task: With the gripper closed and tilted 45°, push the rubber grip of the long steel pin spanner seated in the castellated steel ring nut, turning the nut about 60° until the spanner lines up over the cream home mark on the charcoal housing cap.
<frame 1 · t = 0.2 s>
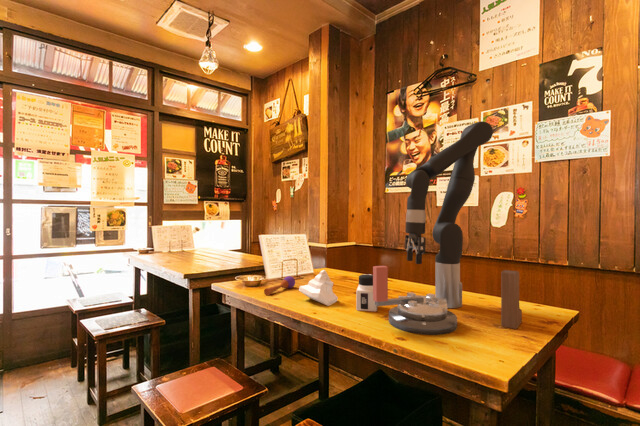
hand: (414, 262, 132), 18 cm above the table, tool pointing down, fingers open, 8 cm apart
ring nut: (409, 289, 111), point 12 cm above the table, hinge at 0.0°
container: (367, 308, 130), on the table
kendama: (280, 291, 159), on the table
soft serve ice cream: (320, 302, 140), on the table
wooden block: (511, 325, 111), on the table
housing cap: (421, 322, 112), on the table
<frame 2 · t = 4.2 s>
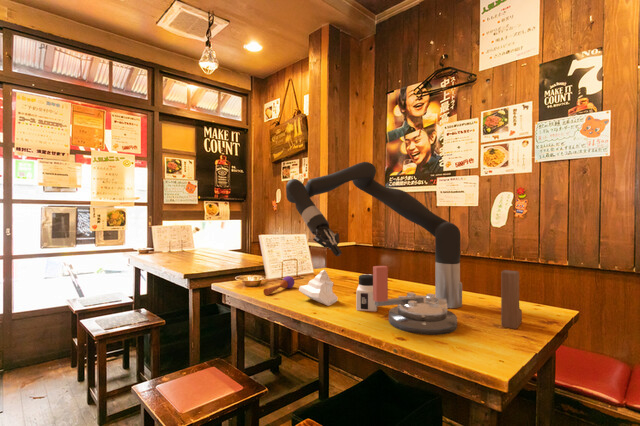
hand: (339, 254, 121), 22 cm above the table, tool tilted 45°, fingers closed
nothing on the table moved.
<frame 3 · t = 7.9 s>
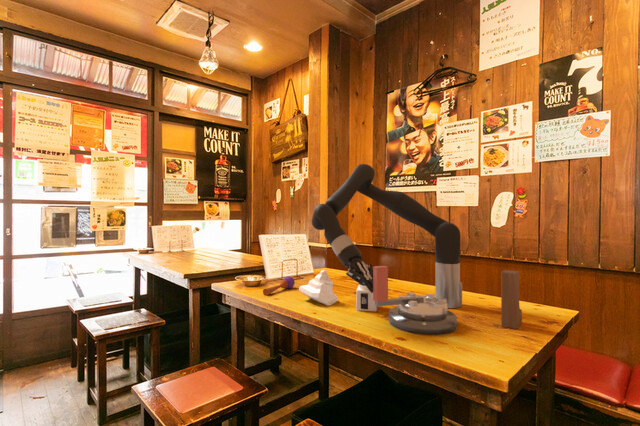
hand: (374, 291, 110), 12 cm above the table, tool tilted 45°, fingers closed
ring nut: (409, 289, 111), point 12 cm above the table, hinge at 0.5°, touching gripper
everything else where it was.
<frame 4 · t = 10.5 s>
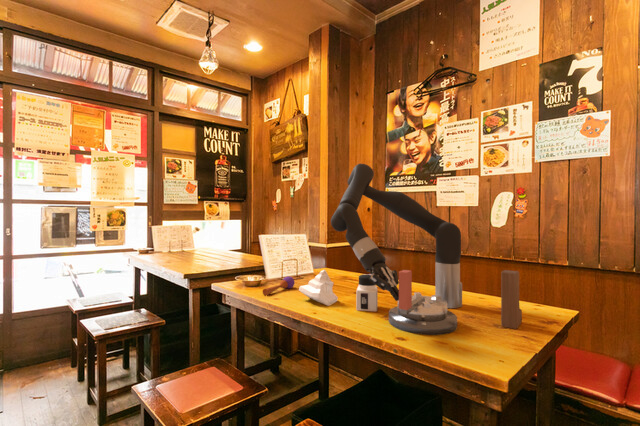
hand: (399, 299, 101), 11 cm above the table, tool tilted 45°, fingers closed
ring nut: (417, 291, 109), point 12 cm above the table, hinge at 38.5°, touching gripper
everything else where it was.
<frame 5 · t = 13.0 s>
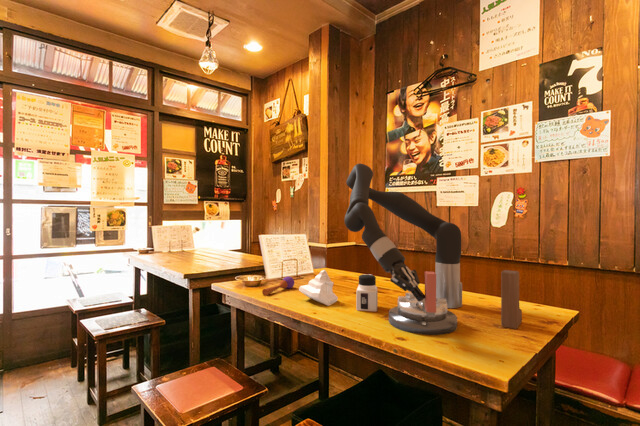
hand: (422, 299, 98), 12 cm above the table, tool tilted 45°, fingers closed
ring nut: (424, 292, 108), point 12 cm above the table, hinge at 65.1°, touching gripper
everything else where it was.
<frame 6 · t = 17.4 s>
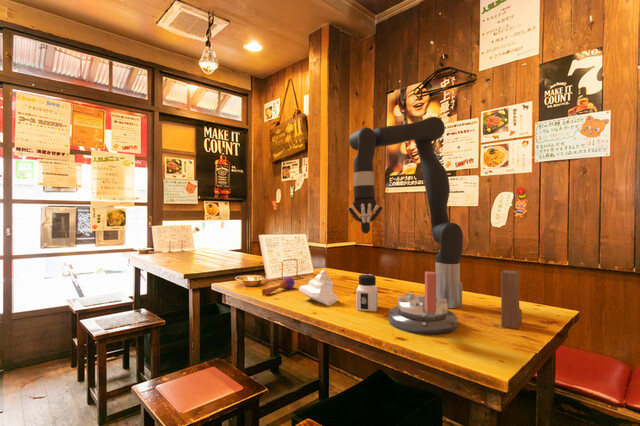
hand: (365, 233, 119), 30 cm above the table, tool pointing down, fingers closed
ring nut: (424, 292, 108), point 12 cm above the table, hinge at 65.2°
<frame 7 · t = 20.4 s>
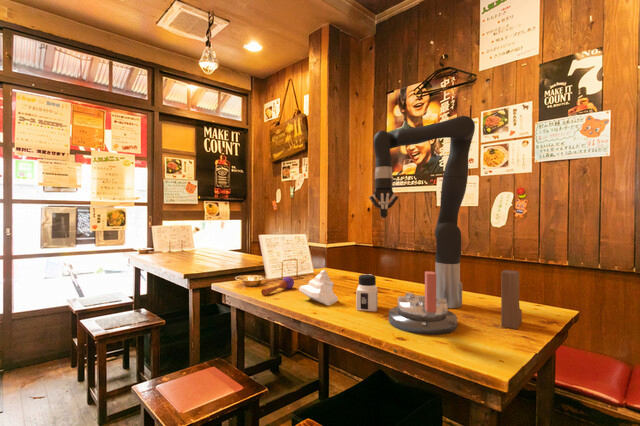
hand: (383, 217, 145), 35 cm above the table, tool pointing down, fingers closed
at the end: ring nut at +65° (first picture: +0°); container moved 0.2 cm from its start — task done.
